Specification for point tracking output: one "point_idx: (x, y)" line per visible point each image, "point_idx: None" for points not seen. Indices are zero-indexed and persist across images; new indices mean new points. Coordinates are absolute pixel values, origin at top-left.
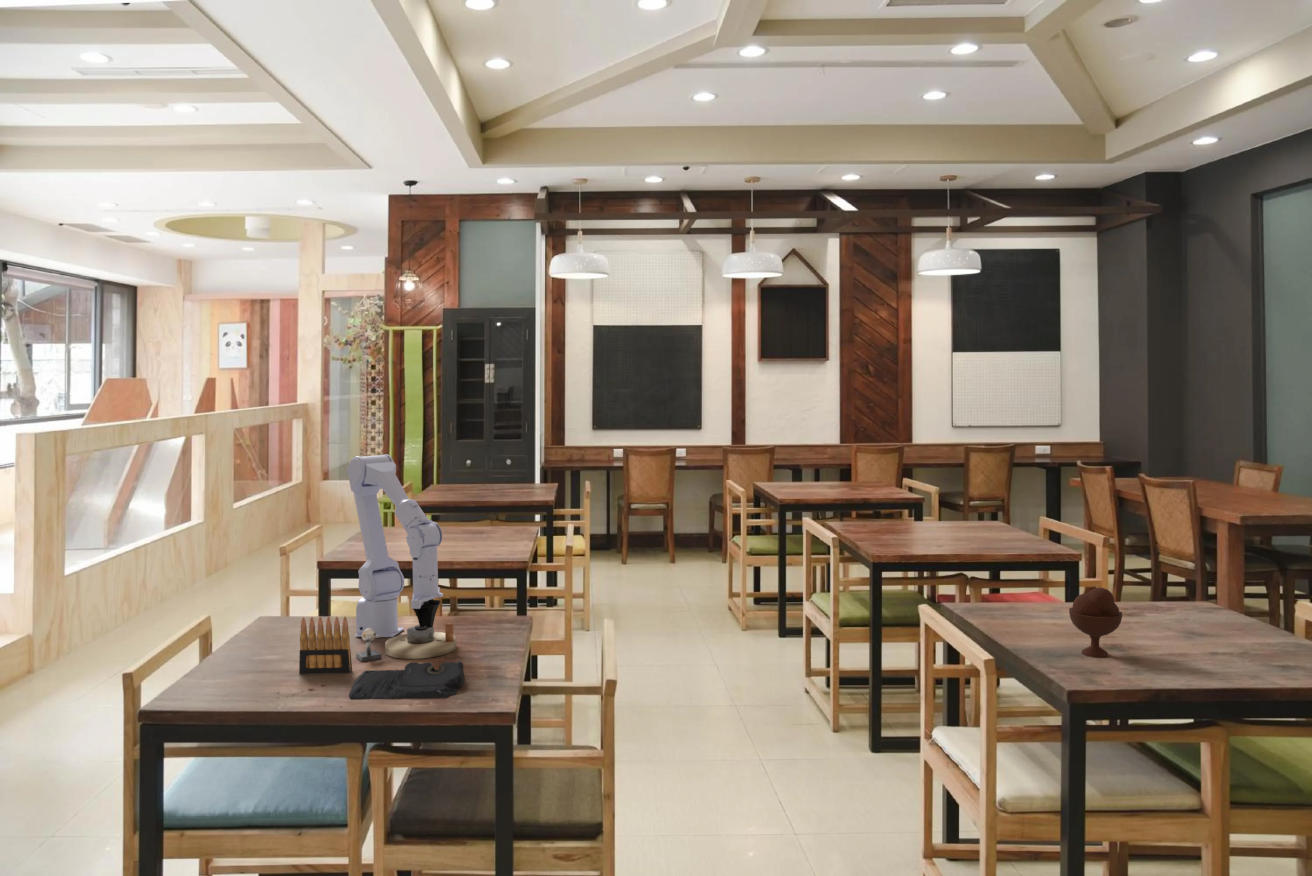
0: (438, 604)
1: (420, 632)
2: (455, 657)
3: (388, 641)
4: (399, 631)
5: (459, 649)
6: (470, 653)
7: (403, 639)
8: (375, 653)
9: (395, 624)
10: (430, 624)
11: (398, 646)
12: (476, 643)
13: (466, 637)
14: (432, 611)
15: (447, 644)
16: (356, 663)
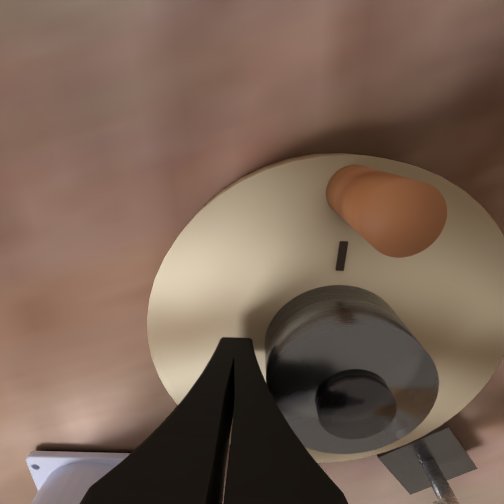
0: (148, 496)
1: (436, 376)
2: (494, 103)
3: (334, 455)
4: (78, 455)
5: (322, 130)
6: (421, 24)
7: None
8: (431, 446)
9: (82, 498)
10: (260, 372)
11: None
12: (184, 53)
13: (66, 163)
14: (313, 460)
15: (438, 180)
16: (479, 458)
